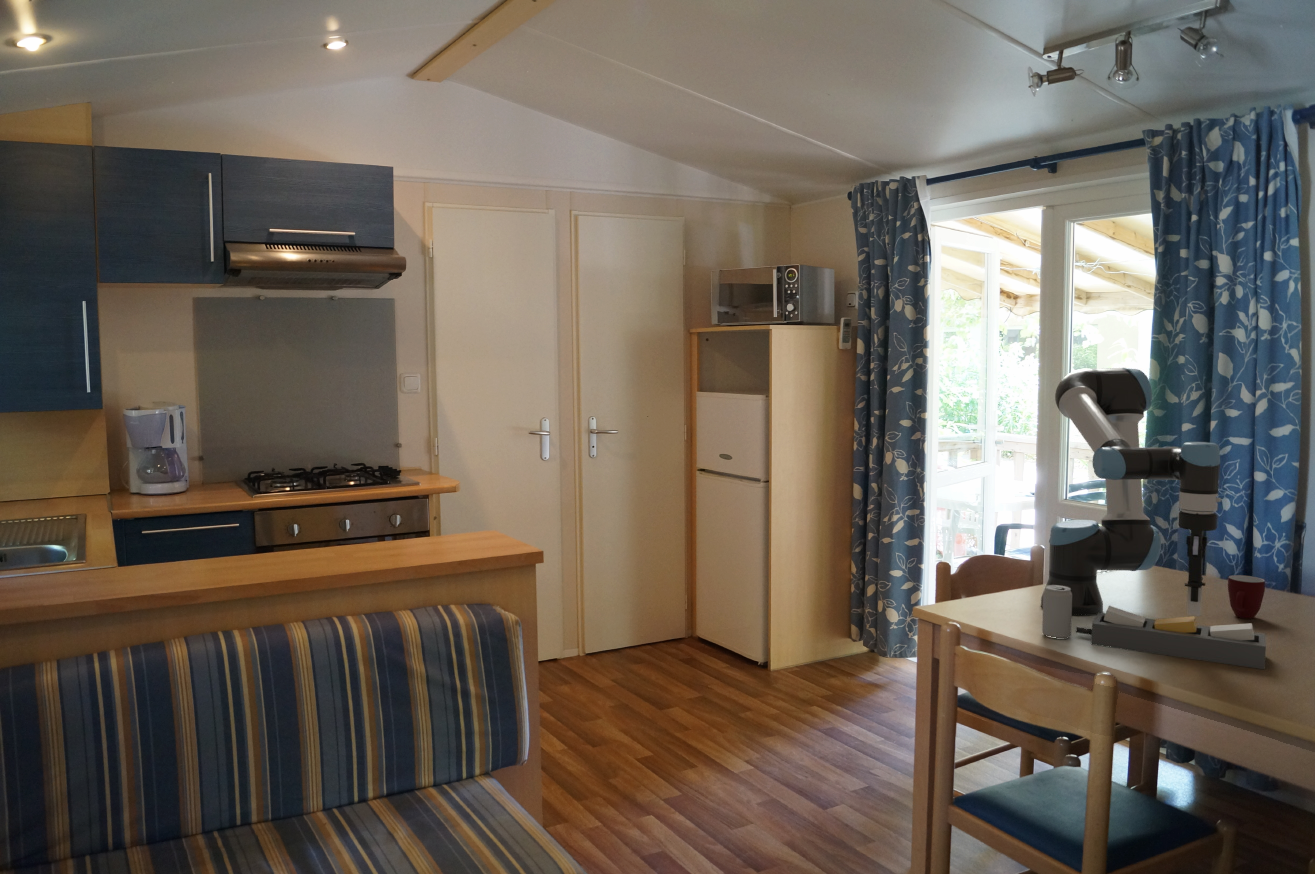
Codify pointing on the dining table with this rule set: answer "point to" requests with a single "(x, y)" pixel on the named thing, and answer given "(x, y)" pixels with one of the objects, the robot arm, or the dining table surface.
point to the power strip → (1178, 642)
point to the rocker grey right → (1233, 631)
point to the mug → (1245, 595)
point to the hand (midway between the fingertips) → (1193, 614)
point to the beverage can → (1057, 611)
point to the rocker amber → (1177, 624)
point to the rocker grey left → (1123, 617)
